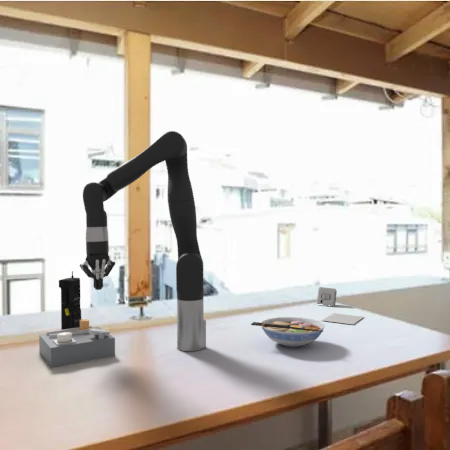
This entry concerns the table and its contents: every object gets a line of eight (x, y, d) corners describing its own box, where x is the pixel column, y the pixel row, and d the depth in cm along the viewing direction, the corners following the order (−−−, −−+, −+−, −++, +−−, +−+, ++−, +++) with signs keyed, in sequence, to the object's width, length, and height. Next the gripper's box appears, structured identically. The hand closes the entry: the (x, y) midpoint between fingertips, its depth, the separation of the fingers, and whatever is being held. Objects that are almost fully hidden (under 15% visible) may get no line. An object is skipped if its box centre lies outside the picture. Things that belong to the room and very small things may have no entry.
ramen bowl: (333, 340, 160) (333, 318, 160) (319, 358, 140) (319, 333, 140) (269, 333, 171) (269, 312, 171) (247, 349, 150) (247, 325, 150)
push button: (70, 337, 141) (69, 331, 141) (73, 340, 137) (73, 334, 137) (55, 339, 139) (55, 333, 139) (59, 343, 135) (58, 336, 135)
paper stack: (385, 320, 192) (385, 319, 192) (371, 333, 171) (371, 331, 171) (334, 314, 204) (334, 313, 204) (314, 326, 183) (314, 324, 183)
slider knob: (86, 328, 153) (86, 318, 153) (89, 330, 151) (89, 320, 151) (79, 329, 152) (79, 319, 152) (82, 331, 150) (82, 321, 149)
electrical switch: (316, 305, 225) (317, 287, 226) (320, 304, 229) (321, 286, 230) (333, 307, 219) (334, 288, 220) (337, 306, 224) (338, 288, 224)
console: (98, 342, 158) (98, 320, 158) (115, 355, 143) (114, 331, 143) (39, 352, 147) (39, 328, 147) (50, 367, 132) (50, 341, 132)
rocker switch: (105, 333, 147) (106, 329, 147) (109, 335, 144) (109, 332, 144) (88, 332, 144) (88, 328, 144) (91, 334, 141) (92, 330, 141)
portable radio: (72, 342, 159) (71, 274, 159) (57, 341, 160) (56, 273, 160) (83, 336, 167) (82, 271, 166) (69, 335, 168) (68, 271, 168)
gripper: (84, 241, 144) (85, 293, 145) (119, 239, 154) (120, 288, 154) (74, 240, 150) (75, 290, 150) (108, 238, 159) (110, 286, 159)
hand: (98, 289), depth 152 cm, fingers closed
